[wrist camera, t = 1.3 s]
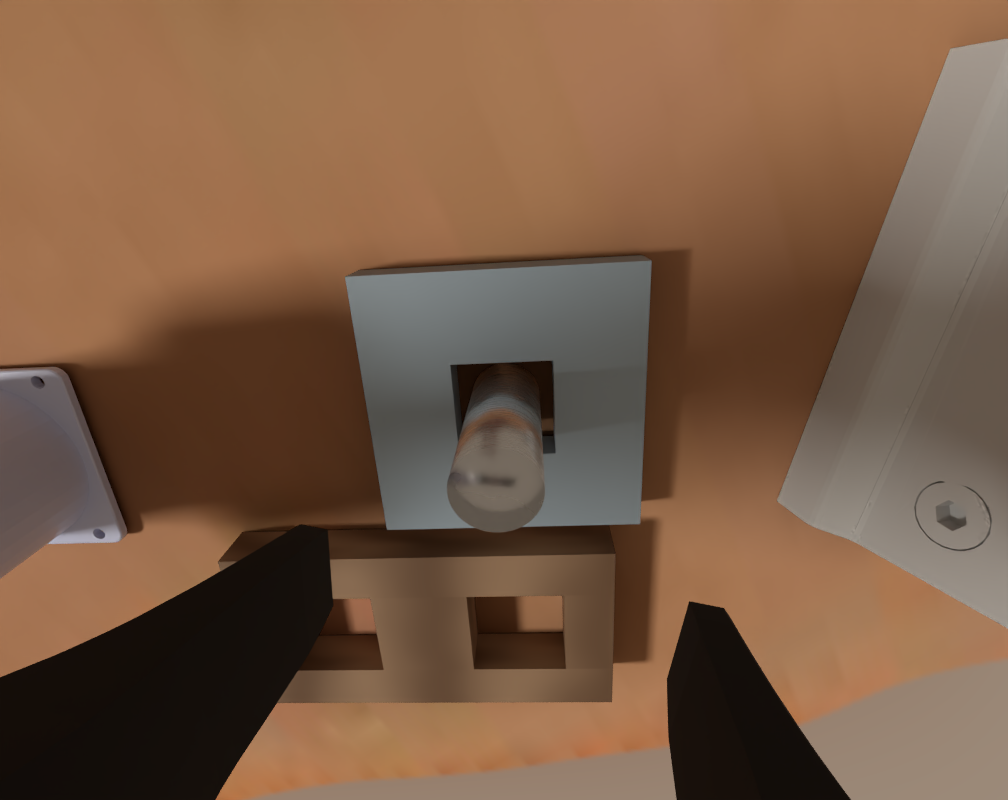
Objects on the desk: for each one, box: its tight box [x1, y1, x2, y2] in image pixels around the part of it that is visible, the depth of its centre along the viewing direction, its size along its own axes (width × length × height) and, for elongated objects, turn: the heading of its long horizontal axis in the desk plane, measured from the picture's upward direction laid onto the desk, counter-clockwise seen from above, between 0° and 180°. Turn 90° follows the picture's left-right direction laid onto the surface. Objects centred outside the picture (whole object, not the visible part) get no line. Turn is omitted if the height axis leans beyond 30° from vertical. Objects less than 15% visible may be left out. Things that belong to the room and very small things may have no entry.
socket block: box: [345, 255, 652, 530], centre depth 20 cm, size 10×10×2 cm
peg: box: [447, 363, 545, 532], centre depth 17 cm, size 3×3×7 cm
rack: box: [218, 525, 616, 703], centre depth 24 cm, size 16×8×2 cm, turn 93°
